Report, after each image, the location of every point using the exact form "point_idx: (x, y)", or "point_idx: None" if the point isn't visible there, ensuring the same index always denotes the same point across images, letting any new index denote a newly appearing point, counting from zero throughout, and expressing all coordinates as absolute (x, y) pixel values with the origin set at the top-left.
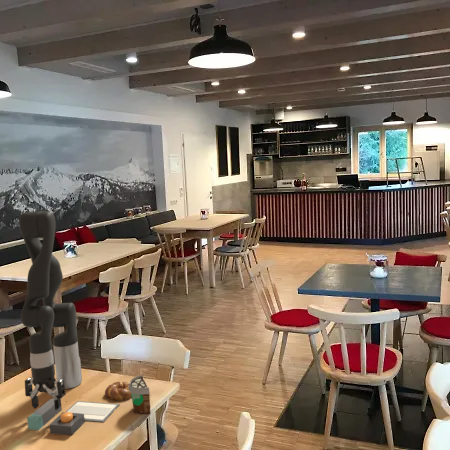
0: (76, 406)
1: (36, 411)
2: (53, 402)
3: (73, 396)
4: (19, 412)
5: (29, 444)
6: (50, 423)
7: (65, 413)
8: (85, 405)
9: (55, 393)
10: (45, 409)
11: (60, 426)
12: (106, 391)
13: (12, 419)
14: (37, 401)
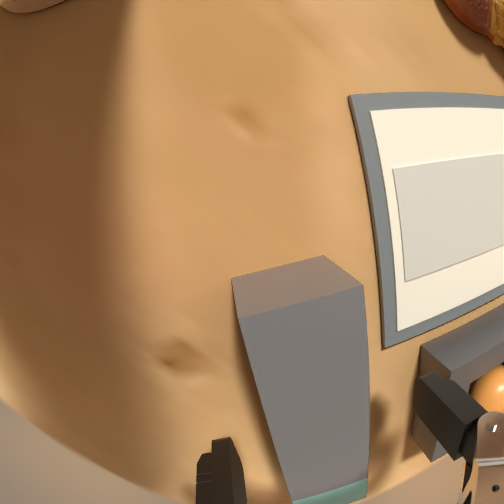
0: (413, 185)
1: (296, 481)
2: (331, 358)
3: (238, 32)
4: (59, 388)
5: (372, 494)
6: (432, 456)
7: (497, 404)
8: (450, 150)
9: (474, 463)
10: (343, 445)
11: None
12: (480, 6)
13: (108, 447)
14: (234, 475)
